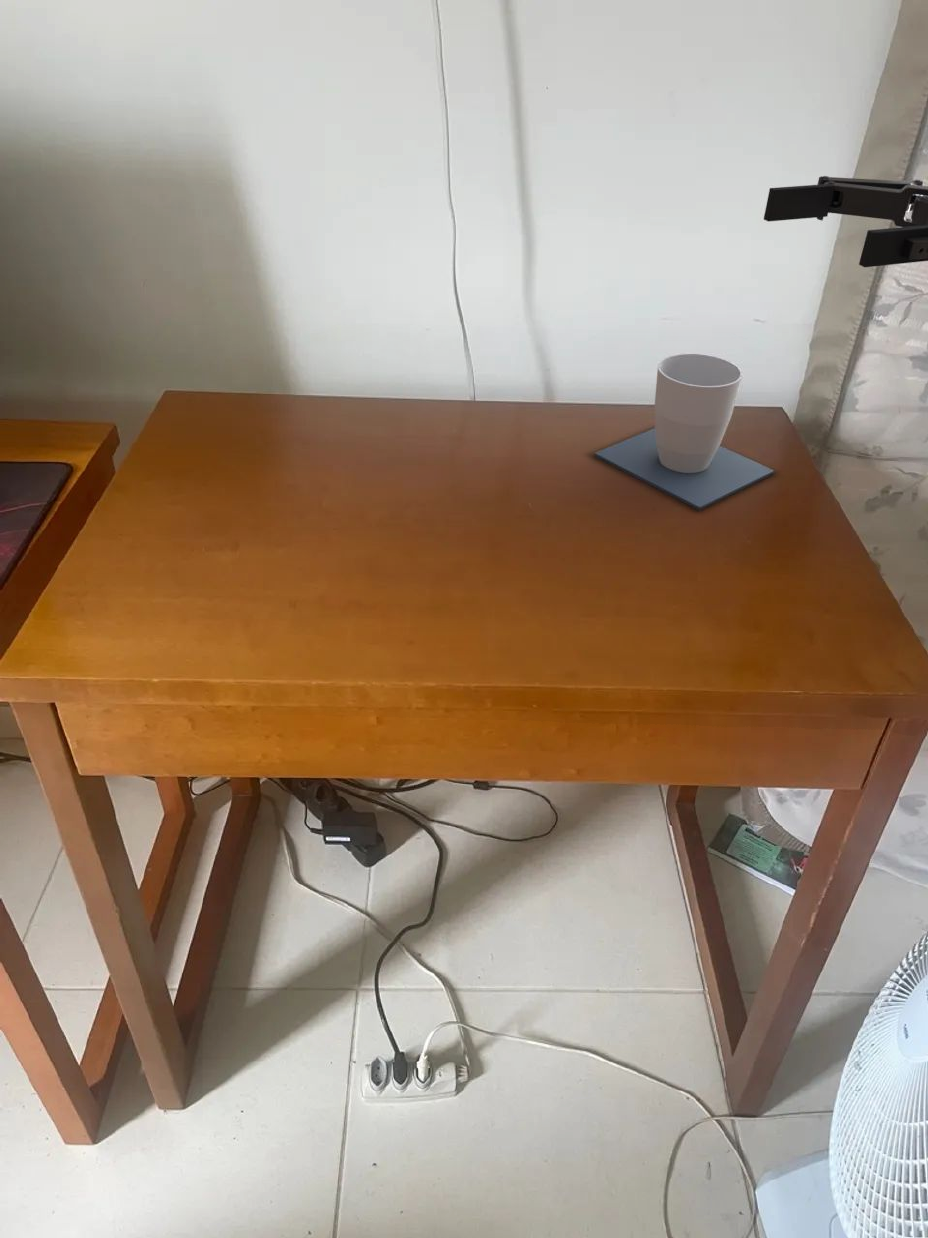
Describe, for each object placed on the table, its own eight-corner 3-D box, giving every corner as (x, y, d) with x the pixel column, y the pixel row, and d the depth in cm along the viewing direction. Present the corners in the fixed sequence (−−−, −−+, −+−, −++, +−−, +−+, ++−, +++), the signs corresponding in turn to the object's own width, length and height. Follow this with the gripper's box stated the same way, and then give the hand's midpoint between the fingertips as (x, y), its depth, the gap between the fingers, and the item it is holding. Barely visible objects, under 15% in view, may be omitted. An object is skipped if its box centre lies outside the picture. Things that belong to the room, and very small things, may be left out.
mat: (773, 473, 101) (774, 470, 100) (699, 510, 94) (699, 507, 94) (668, 425, 109) (669, 421, 109) (593, 456, 103) (594, 452, 103)
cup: (739, 473, 100) (759, 380, 94) (670, 486, 97) (686, 391, 91) (695, 438, 106) (712, 349, 100) (629, 449, 103) (642, 358, 97)
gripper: (1102, 293, 83) (900, 319, 77) (903, 214, 102) (727, 230, 96) (1141, 200, 79) (929, 219, 73) (925, 135, 97) (742, 146, 91)
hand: (814, 225), depth 84 cm, fingers open, 13 cm apart
